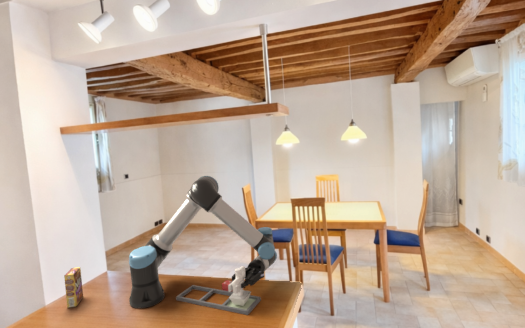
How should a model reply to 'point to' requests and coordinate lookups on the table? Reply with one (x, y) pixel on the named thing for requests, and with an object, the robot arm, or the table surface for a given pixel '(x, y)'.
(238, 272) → the figurine
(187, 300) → the frame
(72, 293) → the candy box
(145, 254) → the robot arm
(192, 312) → the table surface
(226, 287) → the red die
